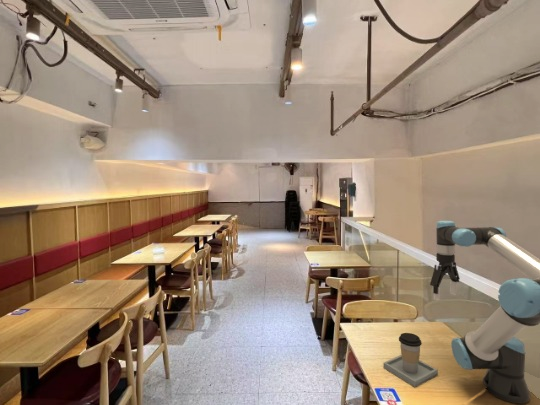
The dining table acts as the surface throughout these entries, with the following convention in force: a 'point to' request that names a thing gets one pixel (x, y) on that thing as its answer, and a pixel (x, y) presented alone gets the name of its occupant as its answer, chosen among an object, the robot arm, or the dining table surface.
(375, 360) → the dining table surface
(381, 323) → the dining table surface
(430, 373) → the tray
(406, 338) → the coffee cup
